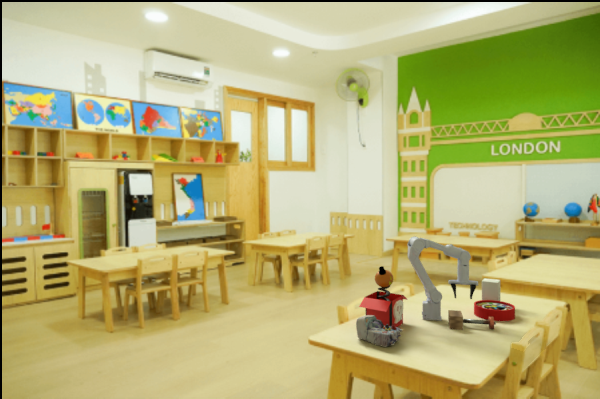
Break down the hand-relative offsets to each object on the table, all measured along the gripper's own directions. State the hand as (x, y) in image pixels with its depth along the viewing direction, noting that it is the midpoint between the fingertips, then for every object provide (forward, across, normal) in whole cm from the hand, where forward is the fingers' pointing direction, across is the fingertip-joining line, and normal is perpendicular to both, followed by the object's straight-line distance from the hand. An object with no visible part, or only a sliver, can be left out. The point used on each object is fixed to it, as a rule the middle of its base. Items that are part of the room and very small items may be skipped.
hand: (463, 298), depth 228 cm
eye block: (+10, -5, -15) cm, 19 cm away
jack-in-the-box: (+11, -39, -20) cm, 45 cm away
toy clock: (+11, +16, +8) cm, 21 cm away
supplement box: (+11, +18, +27) cm, 34 cm away
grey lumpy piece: (+11, -40, -44) cm, 61 cm away
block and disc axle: (+10, +6, -15) cm, 19 cm away
